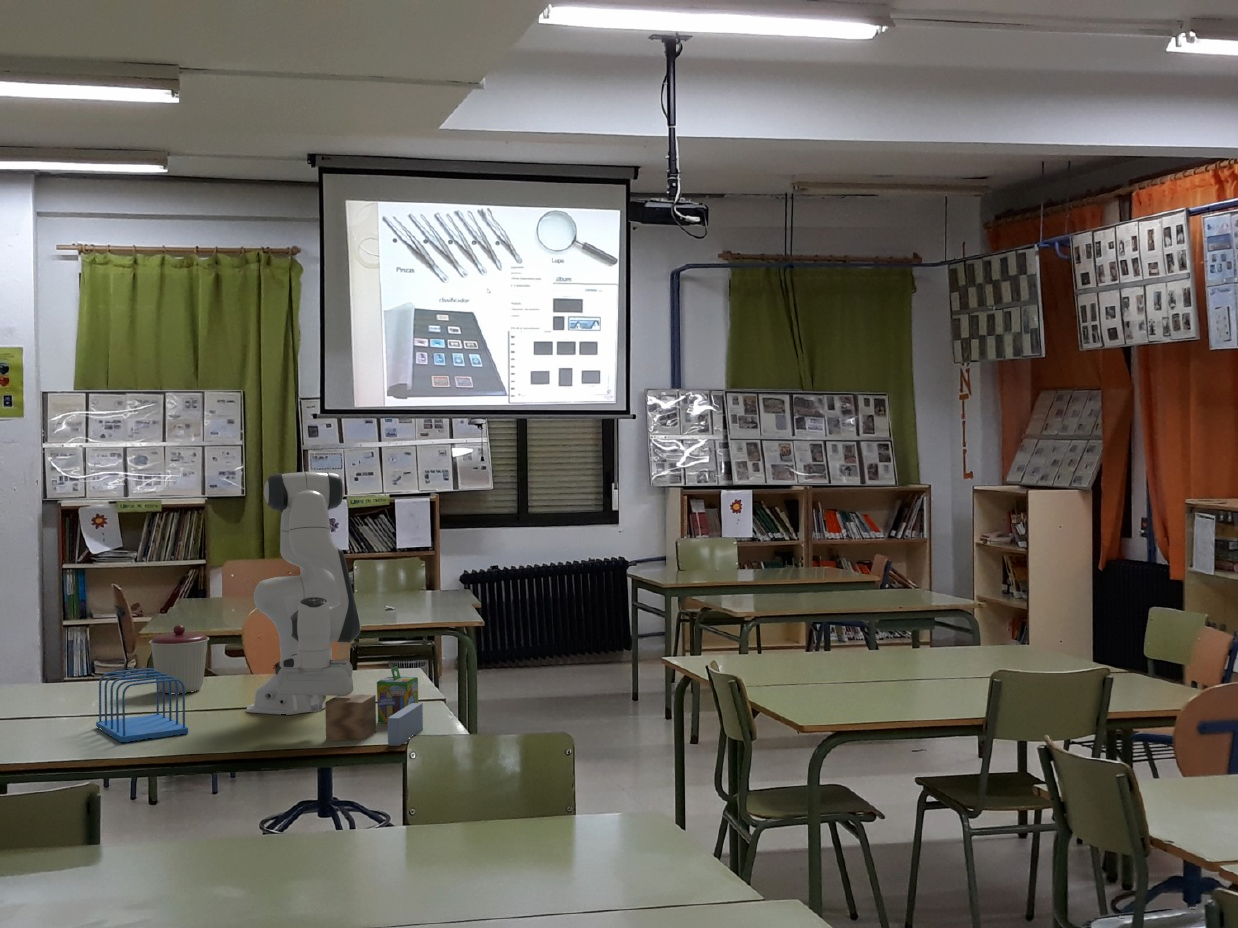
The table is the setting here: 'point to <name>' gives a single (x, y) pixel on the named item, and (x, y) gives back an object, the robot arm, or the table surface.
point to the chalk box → (395, 694)
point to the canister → (180, 658)
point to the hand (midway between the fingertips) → (315, 711)
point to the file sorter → (142, 724)
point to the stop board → (405, 724)
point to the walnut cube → (350, 717)
